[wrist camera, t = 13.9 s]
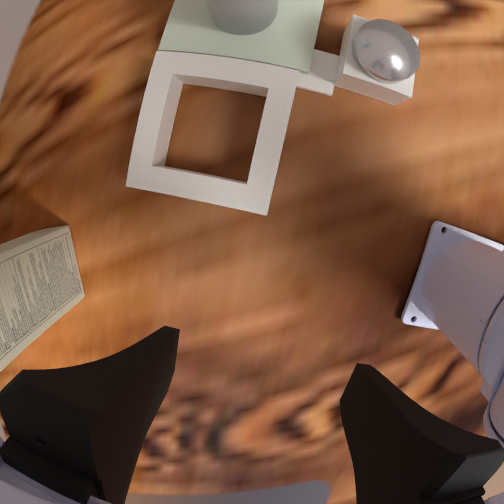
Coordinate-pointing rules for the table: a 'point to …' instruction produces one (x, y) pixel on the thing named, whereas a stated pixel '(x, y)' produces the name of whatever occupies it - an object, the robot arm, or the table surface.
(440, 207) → the table surface
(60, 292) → the skincare box
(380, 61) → the plunger
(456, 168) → the table surface
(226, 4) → the cartridge
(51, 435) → the robot arm
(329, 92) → the holder
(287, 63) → the pad
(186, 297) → the table surface
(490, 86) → the table surface
